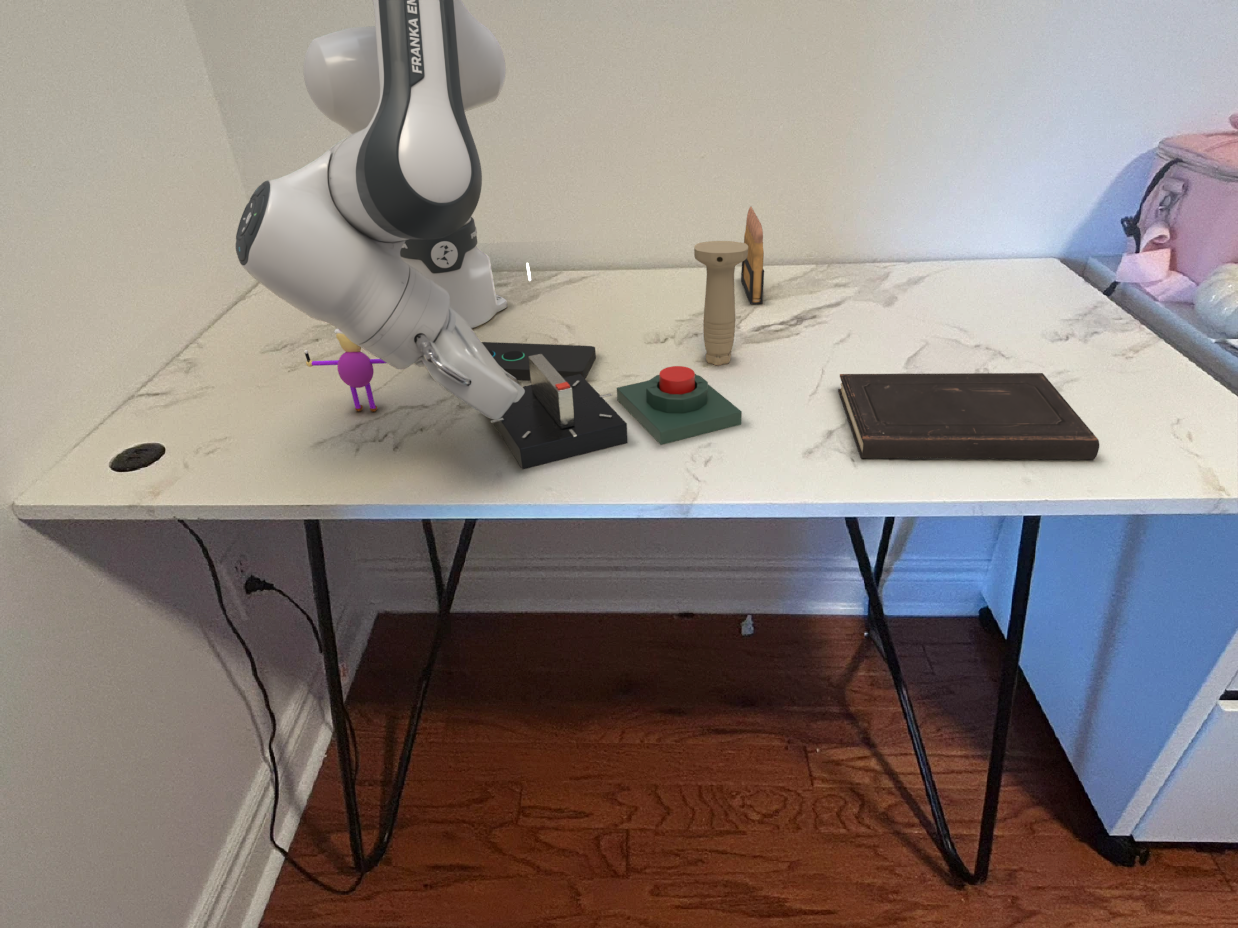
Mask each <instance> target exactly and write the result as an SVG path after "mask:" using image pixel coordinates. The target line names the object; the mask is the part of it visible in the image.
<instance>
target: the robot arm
mask: <svg viewBox="0 0 1238 928" xmlns="http://www.w3.org/2000/svg"><path fill="white" fill-rule="evenodd" d="M372 4H373V15H374V25H371V26H369V25H368V26H357V27H356V26H355V27H346V28H343V29H339V30H337V31H333V32H330V33H327V34H324V35H320V36H317V37H314V38H313V39H312V41H311V42H310V44H309V45H308V47H307V49H306V51H305V55H304V59H303V65H302V66H303V69H302V70H303V71H302V73H303V80H304V81H303V82H304V85H305V87H306V91H307V93H308V95H309V98H310V99H311V100H312V102H313V104H314V106H315V107H316V108H317V109H318V110H319V111H320V112H321V113H322V115H324V116H325V117H326V118H327V119H328V120H331V121H332V122H334V123H335V124H337V125H339V126H341V127H342V128H343V129H345V130H346V131H347V132H349V133H350V135H348V136H346V137H344V138H342V139H341V140H339V141H337V142H336V143H335V144H333V145H332V146H331V147H329V148H328V149H327V150H325V152H324V153H322V154H321V155H320V156H318V157H317V158H316V159H314V160H313V161H311V162H309V163H307V164H306V165H304V166H302V167H300V168H298V169H296V170H294V171H292V172H289V173H288V174H285V175H284V176H281V177H277V178H274V179H267V180H264V181H263V182H262V183H261V184H260V185H258V186H257V188H256V189H255V190H254V191H253V193H252V194H251V196H250V198H249V201H248V202H247V204H246V205H245V207H244V210H243V212H242V214H241V217H240V220H239V223H238V227H237V229H236V230H237V231H236V235H235V252H236V255H237V258H238V261H239V263H240V265H241V266H242V268H243V270H245V271H246V272H247V274H249V276H251V277H252V278H253V279H254V280H255V281H257V282H258V283H259V284H260V285H262V286H263V287H264V288H265V289H267V290H268V291H270V292H271V293H273V294H274V295H275V296H276V297H278V298H280V299H281V300H282V301H284V302H285V303H287V304H289V305H291V307H293V308H295V309H297V310H298V311H300V312H302V313H303V314H305V315H306V316H308V317H310V318H312V319H314V320H316V321H320V322H324V323H326V324H329V325H332V326H333V327H335V329H339V330H340V331H342V332H343V333H344V335H345V336H346V337H347V338H348V339H349V340H350V341H352V342H353V343H355V344H356V345H358V346H360V347H361V349H363V350H365V351H366V352H368V353H369V354H371V355H373V356H374V357H377V359H381V360H383V361H385V362H386V363H385V364H388V365H390V366H391V367H393V368H395V369H397V370H405V369H407V368H410V367H411V366H413V365H415V366H416V367H419V368H422V367H425V368H426V370H427V372H428V374H429V376H430V377H431V378H432V379H433V381H434V382H436V383H437V384H438V385H439V386H440V387H442V388H443V389H444V390H446V391H447V392H448V393H450V394H451V395H453V396H454V397H455V398H457V399H459V400H460V401H462V402H463V403H464V404H466V405H468V406H469V407H470V408H472V409H474V410H475V411H476V412H478V413H479V414H481V415H483V416H484V417H487V418H488V419H489V420H491V419H494V420H498V419H500V418H501V417H502V416H503V415H504V413H505V412H506V411H507V410H508V409H509V407H510V406H511V405H512V403H513V402H518V401H519V400H520V398H521V397H522V396H523V395H524V393H525V390H524V388H523V385H521V382H519V380H517V379H516V378H515V377H513V376H512V375H510V374H509V373H507V372H506V371H505V370H504V369H503V368H502V367H500V366H499V365H498V363H497V362H496V361H495V359H494V358H493V357H492V355H491V354H490V353H489V351H488V350H487V349H486V347H485V346H484V345H483V343H482V342H483V341H481V339H480V338H479V337H478V335H477V334H476V333H475V331H474V330H473V329H474V328H476V327H479V326H481V325H484V324H485V323H487V322H489V321H490V320H491V319H492V318H493V317H494V316H495V315H496V314H497V313H499V312H501V311H503V310H505V309H506V308H507V307H509V306H508V301H507V299H506V298H504V297H503V296H501V295H499V294H497V292H496V286H495V283H494V282H495V281H494V275H493V271H492V265H491V258H490V256H489V255H488V254H486V252H484V251H483V250H482V249H480V248H479V247H478V246H477V245H478V243H479V242H478V231H477V226H476V222H475V219H474V217H472V216H473V214H474V213H475V211H476V209H477V207H478V204H479V201H480V197H481V194H482V186H483V173H482V165H481V161H480V160H481V159H480V155H479V152H478V149H477V145H476V144H475V140H474V137H473V134H472V131H471V128H470V125H469V122H468V120H467V115H466V112H468V111H471V110H474V109H477V108H478V109H479V108H480V107H484V106H486V105H488V104H491V103H493V102H495V101H496V100H497V99H498V98H499V96H500V94H501V92H502V91H503V87H504V84H505V80H506V74H507V73H506V70H507V69H506V58H505V55H504V51H503V48H502V46H501V45H500V42H499V41H498V39H497V37H496V36H495V35H494V33H493V32H492V31H491V30H490V29H489V28H488V27H487V26H486V25H484V24H483V23H482V22H480V21H479V20H478V19H477V18H475V16H474V15H473V14H472V13H471V12H470V10H469V9H468V7H466V5H465V4H464V2H463V0H372ZM525 265H526V271H527V278H528V281H529V282H531V281H532V277H531V270H530V265H529V262H526V264H525Z"/></svg>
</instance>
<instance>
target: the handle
mask: <svg viewBox="0 0 1238 928" xmlns="http://www.w3.org/2000/svg"><path fill="white" fill-rule="evenodd" d="M693 247H694V249H693V255H694V259H695V260H696V261H697V262H699V263H701V264H702V265H704V266H705V269H706V281H705V294H704V295H705V296H704V308H703V323H702V325H703V342H704V348H705V351H706V353H705V361H706V362H707V363H708V364H712V365H714V366H717V367H718V366H721V365H729V364H730V363H731V358H732V350H733V346H734V341H735V333H736V303H735V302H736V297H735V296H736V295H735V270H736V266H737V265H739V264H742V262H743V261H744V260H745V259H746V258H747V256H748V245H747V244H745V243H744V242H740V241H735V240H733V241H732V240H710V241H709V240H708V241H701V242H698V243H696V244H694V246H693Z"/></svg>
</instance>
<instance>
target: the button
mask: <svg viewBox="0 0 1238 928" xmlns="http://www.w3.org/2000/svg"><path fill="white" fill-rule="evenodd" d="M695 374H696V373H695V370H693V369H692V368H691V367H688V366H683V365H672V366H667V367H664V368H663V369H661V370H660V371H659V374H658V375H659V387H660V390H661V392H665V393H668V394H685V393H689V392H692V391H693V390H694V389H695Z"/></svg>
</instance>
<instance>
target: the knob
mask: <svg viewBox="0 0 1238 928" xmlns="http://www.w3.org/2000/svg"><path fill="white" fill-rule="evenodd" d="M528 358H529V368H530V377H531V381H530V385H531V387H532V392H533V393H534V395H535V396H536V397H537V399H538V400H539V401H540V402H541V404H542V405H543V406H544V408H545V409H546V410H547V411H548V413H549V414H550V415H551V416H552V418H553V419H554V420H555V422H556V423H557V424H558V425H559V427H560V428H561V429H563V428H567V427H571V426H575V420H574V407H573V394H572V388H571V387H570V385H569V384H568V383H567V382H566V381H565V380H564V379H563V378H562V376H561V375H560V374H559V373H558V372H557V371H556V370H555V369H554V367H553V366H552V365H551V364H550V363H549V362H548V361H547V359H546V358H545V357H544V356H543V355H542V354H537V355H533V356H528Z"/></svg>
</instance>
